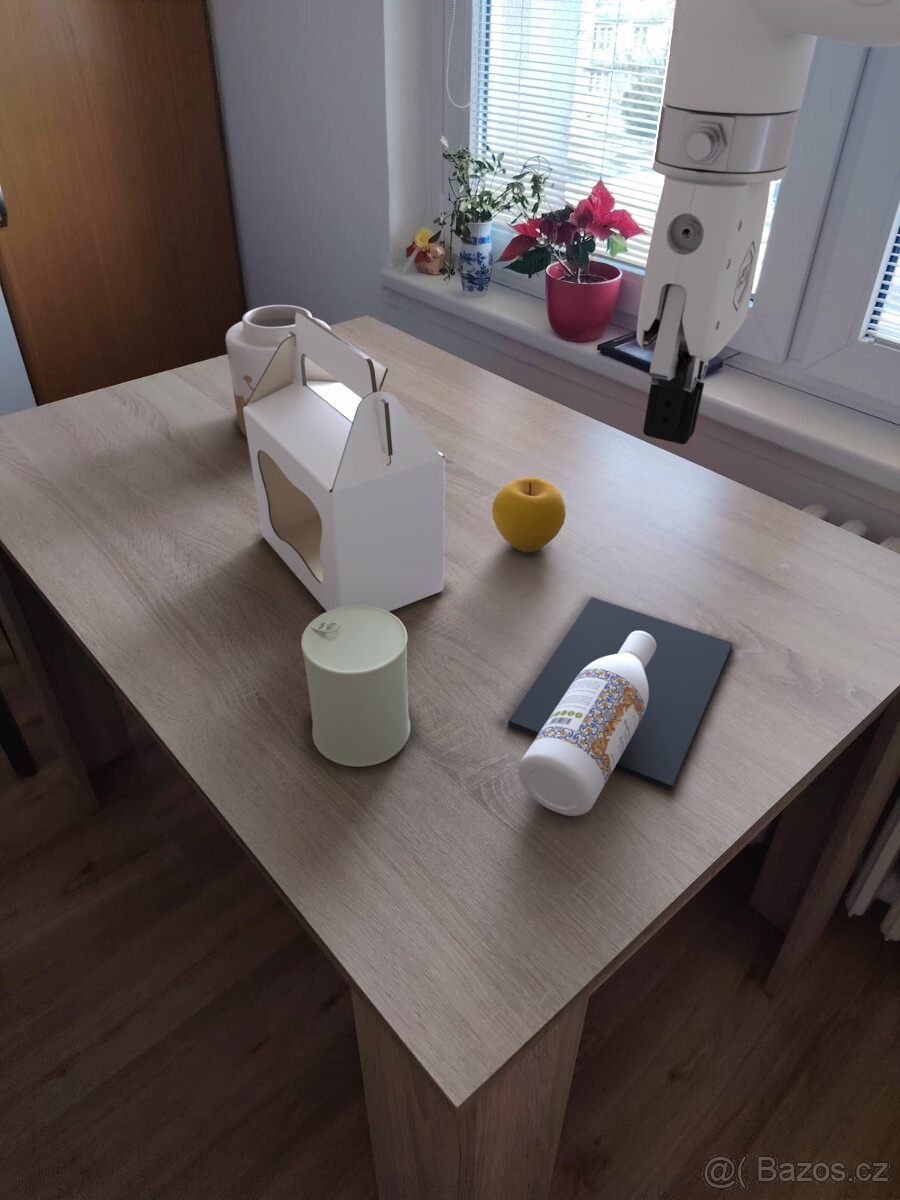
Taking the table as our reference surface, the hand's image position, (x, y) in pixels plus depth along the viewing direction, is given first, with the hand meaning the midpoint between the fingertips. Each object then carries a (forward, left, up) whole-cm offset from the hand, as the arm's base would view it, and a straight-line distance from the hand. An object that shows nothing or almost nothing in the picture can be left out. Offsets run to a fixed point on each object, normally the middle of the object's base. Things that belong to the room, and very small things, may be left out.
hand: (667, 435), depth 58 cm
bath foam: (-7, +9, -28) cm, 30 cm away
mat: (+6, -5, -31) cm, 32 cm away
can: (+7, +22, -32) cm, 39 cm away
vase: (+73, +20, -32) cm, 82 cm away
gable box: (+34, +18, -32) cm, 50 cm away
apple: (+32, -4, -32) cm, 45 cm away
